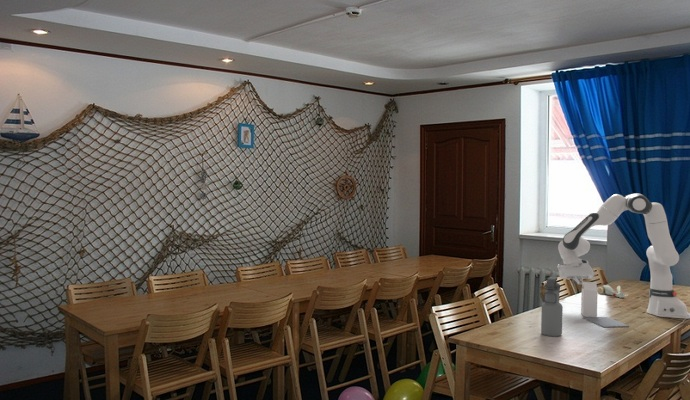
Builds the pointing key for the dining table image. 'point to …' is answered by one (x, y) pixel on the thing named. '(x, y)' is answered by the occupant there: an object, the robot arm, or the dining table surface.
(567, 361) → the dining table surface
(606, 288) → the toy dog
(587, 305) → the milk carton
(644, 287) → the dining table surface
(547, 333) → the water bottle
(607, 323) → the mat
